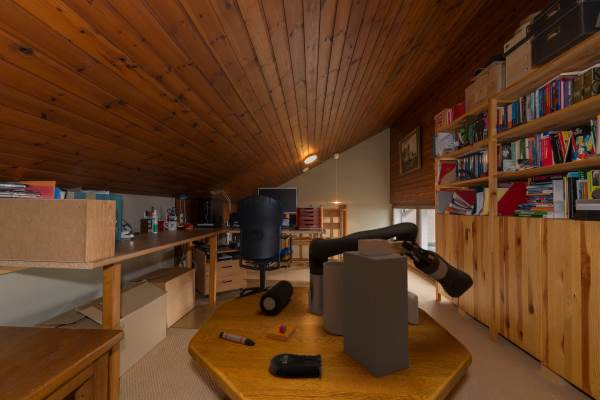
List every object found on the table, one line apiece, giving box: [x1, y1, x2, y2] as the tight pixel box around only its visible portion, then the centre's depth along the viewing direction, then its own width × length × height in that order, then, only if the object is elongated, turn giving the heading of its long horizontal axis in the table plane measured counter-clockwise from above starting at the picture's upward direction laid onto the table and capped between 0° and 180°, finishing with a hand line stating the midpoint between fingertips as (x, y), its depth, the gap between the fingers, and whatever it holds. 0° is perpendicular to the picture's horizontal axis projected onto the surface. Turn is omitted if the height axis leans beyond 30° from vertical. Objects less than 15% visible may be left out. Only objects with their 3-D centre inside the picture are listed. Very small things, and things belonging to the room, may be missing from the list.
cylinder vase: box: [322, 260, 343, 336], centre depth 104 cm, size 12×12×25 cm
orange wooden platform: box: [266, 323, 296, 342], centre depth 98 cm, size 8×8×4 cm
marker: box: [218, 331, 256, 346], centre depth 93 cm, size 15×2×2 cm, turn 64°
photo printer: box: [408, 290, 420, 325], centre depth 112 cm, size 10×4×12 cm, turn 39°
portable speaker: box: [259, 279, 294, 315], centre depth 128 cm, size 26×10×10 cm, turn 166°
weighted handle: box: [358, 239, 412, 256], centre depth 87 cm, size 19×5×4 cm, turn 115°
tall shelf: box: [342, 251, 410, 378], centre depth 83 cm, size 12×16×32 cm
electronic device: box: [269, 352, 323, 379], centre depth 77 cm, size 9×6×15 cm
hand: (398, 242), depth 89 cm, fingers open, 3 cm apart
